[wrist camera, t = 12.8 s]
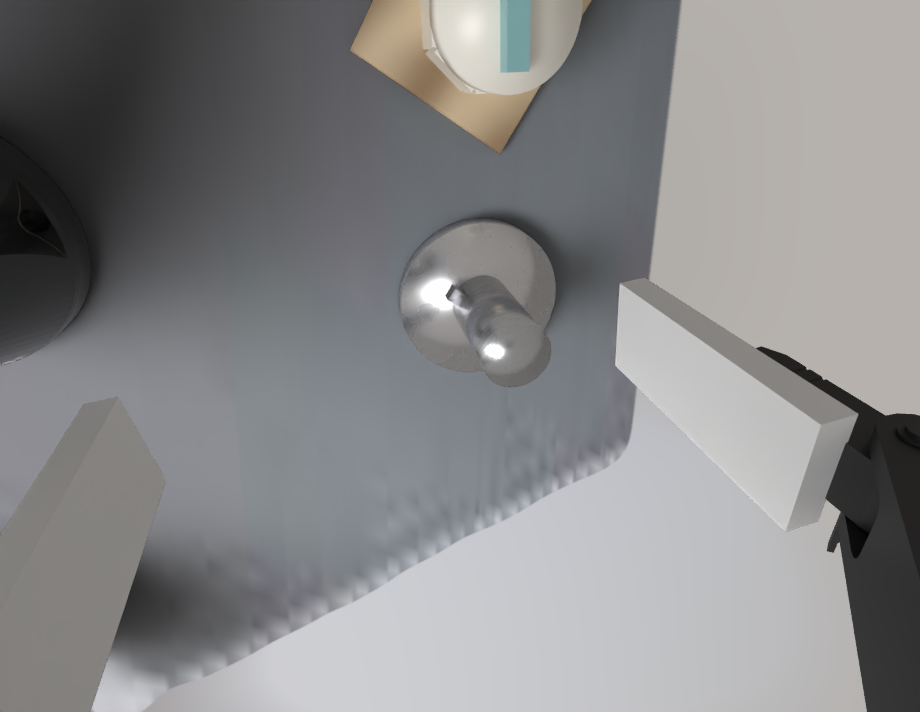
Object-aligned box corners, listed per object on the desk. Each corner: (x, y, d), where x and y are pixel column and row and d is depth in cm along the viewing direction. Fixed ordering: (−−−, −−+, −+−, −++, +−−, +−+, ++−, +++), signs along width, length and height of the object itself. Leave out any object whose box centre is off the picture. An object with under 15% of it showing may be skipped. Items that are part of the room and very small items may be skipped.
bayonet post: (370, 327, 39) (383, 398, 30) (452, 186, 35) (492, 222, 27) (495, 383, 44) (535, 457, 36) (577, 264, 40) (644, 316, 32)
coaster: (349, 50, 30) (350, 49, 30) (445, -155, 27) (448, -161, 26) (496, 151, 35) (500, 153, 34) (593, -11, 32) (599, -14, 31)
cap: (414, -66, 28) (435, -98, 22) (549, -66, 29) (600, -97, 24) (425, 95, 32) (445, 100, 26) (544, 88, 33) (586, 91, 28)
